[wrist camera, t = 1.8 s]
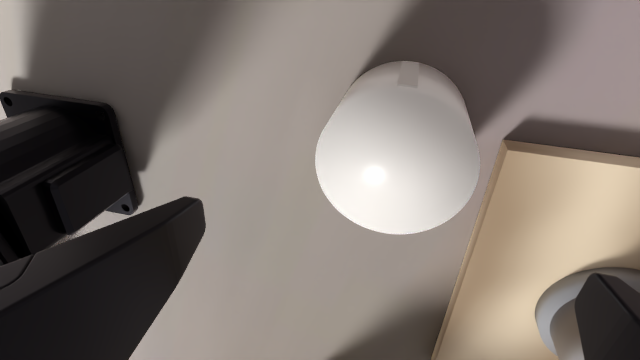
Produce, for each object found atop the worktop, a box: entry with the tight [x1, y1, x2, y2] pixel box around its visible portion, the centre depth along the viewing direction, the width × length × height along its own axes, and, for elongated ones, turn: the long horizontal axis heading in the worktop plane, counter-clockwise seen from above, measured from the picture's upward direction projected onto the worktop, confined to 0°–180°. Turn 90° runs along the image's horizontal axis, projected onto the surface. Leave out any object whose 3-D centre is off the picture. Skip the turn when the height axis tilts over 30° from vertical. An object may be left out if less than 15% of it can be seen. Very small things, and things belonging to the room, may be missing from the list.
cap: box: [315, 61, 480, 234], centre depth 14 cm, size 5×5×4 cm
